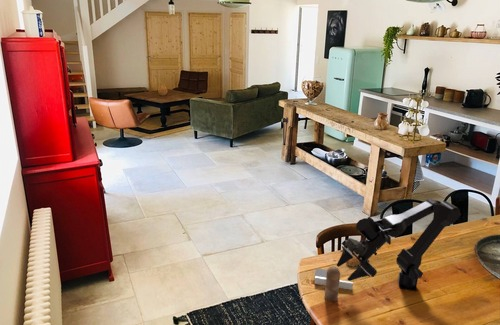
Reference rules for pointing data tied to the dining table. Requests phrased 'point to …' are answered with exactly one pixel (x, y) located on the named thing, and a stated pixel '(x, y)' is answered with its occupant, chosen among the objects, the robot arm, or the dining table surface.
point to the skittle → (332, 284)
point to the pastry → (353, 261)
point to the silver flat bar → (341, 283)
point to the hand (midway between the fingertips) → (342, 272)
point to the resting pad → (320, 273)
